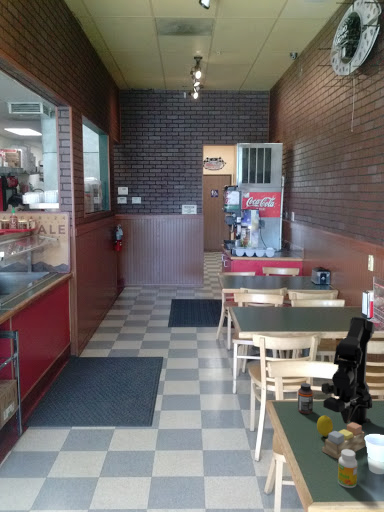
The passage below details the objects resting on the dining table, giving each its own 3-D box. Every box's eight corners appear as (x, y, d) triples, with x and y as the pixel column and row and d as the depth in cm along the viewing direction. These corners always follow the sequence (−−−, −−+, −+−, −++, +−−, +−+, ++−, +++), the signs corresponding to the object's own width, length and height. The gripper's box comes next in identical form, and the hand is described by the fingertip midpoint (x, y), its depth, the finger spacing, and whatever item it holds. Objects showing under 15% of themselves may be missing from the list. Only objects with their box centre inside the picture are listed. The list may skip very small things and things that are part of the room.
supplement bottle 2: (334, 483, 141) (335, 452, 140) (343, 475, 145) (344, 446, 144) (351, 490, 137) (352, 459, 136) (359, 483, 141) (361, 452, 140)
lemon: (329, 432, 172) (330, 412, 172) (334, 440, 167) (335, 418, 166) (314, 433, 172) (315, 412, 171) (319, 440, 167) (319, 419, 166)
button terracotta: (352, 432, 167) (352, 422, 166) (361, 436, 164) (361, 425, 163) (346, 435, 164) (346, 424, 164) (355, 439, 162) (355, 428, 161)
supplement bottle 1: (300, 406, 195) (301, 380, 194) (314, 410, 192) (315, 383, 191) (295, 412, 190) (296, 385, 189) (310, 415, 187) (310, 388, 186)
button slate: (334, 441, 160) (334, 430, 160) (343, 445, 157) (344, 434, 157) (328, 444, 158) (328, 433, 158) (337, 449, 155) (337, 437, 155)
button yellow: (343, 440, 164) (343, 429, 163) (352, 444, 161) (352, 433, 160) (337, 443, 161) (337, 432, 161) (346, 447, 159) (346, 436, 158)
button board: (349, 437, 169) (349, 425, 168) (366, 445, 163) (367, 433, 163) (322, 451, 159) (322, 438, 159) (339, 460, 154) (340, 447, 153)
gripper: (343, 367, 171) (341, 408, 173) (310, 378, 160) (309, 422, 161) (371, 375, 162) (369, 418, 164) (338, 388, 151) (337, 434, 153)
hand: (345, 423), depth 161 cm, fingers closed
